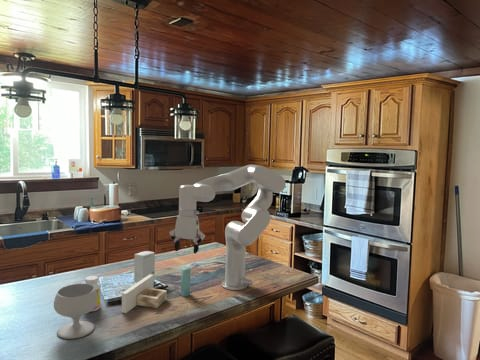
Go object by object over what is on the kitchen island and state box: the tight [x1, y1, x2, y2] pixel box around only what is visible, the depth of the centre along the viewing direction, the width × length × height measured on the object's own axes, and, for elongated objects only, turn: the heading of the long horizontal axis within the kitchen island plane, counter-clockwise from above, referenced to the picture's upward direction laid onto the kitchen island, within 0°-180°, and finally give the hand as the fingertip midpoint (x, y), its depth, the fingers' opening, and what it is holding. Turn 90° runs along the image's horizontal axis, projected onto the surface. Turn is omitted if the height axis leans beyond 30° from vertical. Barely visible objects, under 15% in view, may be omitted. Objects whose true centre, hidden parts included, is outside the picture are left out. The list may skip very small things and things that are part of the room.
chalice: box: [53, 283, 98, 340], centre depth 125 cm, size 14×14×15 cm
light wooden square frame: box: [136, 287, 168, 309], centre depth 149 cm, size 9×9×4 cm
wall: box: [121, 274, 155, 314], centre depth 150 cm, size 2×22×8 cm, turn 166°
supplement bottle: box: [84, 275, 101, 313], centre depth 142 cm, size 7×7×13 cm
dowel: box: [180, 266, 192, 298], centre depth 158 cm, size 4×4×12 cm
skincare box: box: [133, 250, 156, 283], centre depth 170 cm, size 8×6×15 cm
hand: (186, 251), depth 157 cm, fingers open, 8 cm apart
